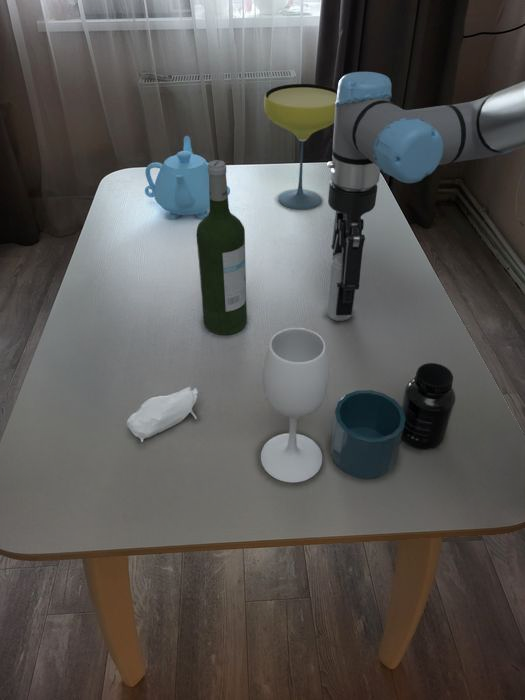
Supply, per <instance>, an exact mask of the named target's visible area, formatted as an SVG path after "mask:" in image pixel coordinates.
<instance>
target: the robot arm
mask: <svg viewBox="0 0 525 700" xmlns="http://www.w3.org/2000/svg"><path fill="white" fill-rule="evenodd" d="M337 90H338V92H337V100H336V103H335V120H334V123H333V135H332V136H333V137H332V151H331V152H332V153H331V155H332V156H331V159H332V161H328V162H327V168H328V169H330V177H329V178H330V182H329V184H328V185H329V186H328V198H327V200H328V201H327V203H328V205H329V207H330V208H331V210H333V211H335V213H334V214H335V215H334V222H333V223H334V224H333V233H332V241H331V250H333V252H332V257H333V256H334V255H335V254H337V253H342V265H341V282H340V283H337V287H339V288H338V298H337V307H336V315H352V316H353V313H352V308H353V309H354V305H353V300H354V301H355V297H354V292H355V293H356V291H357V290H359V288H360V277H361V268H362V260H363V250H364V245H365V241H366V236H365V234H362V233H363V230H364V223H365V222H364V219H363V218H362V216H363V215H365V214H366V213H369V212H371V211H372V210H373V209H374V208H375V206H376V201H377V194H378V183H379V181H380V175H381V171H382V172H383V173H384V174H386V175H388V176H389V177H393V178H394V179H396V180H397V181H399V182H401V183H405V184H414V183H419V182H421V181H423V179H424V178H426V177H427V176H430V175H432V173H433V172H434V171H435V170H436V169H437V167H438V166H441V165H446V164H447V165H448V164H452V163H458V162H466V161H472V160H473V161H474V160H478V159H490V158H496V157H499V156H502V155H505V154H508V153H510V152H513V151H514V150H518V149H522V148H525V80H524V81H521V82H519V83H517V84H514V85H511V86H509V87H506V88H504V89H500V90H498V91H497V92H494V93H491V94H489V95H486V96H484V97H482V98H479V99H476V100H472V101H467V102H461V103H454V104H446V105H437V106H430V107H423V108H416V109H403V108H401V107H400V106H399V105H396V104H394V103H393V102H392V101H391V99H392V97H393V96H392V82H391V79H390V77H388V76H387V75H385V74H382V73H379V72H374V71H356V72H349V73H347V74H344V75H343V76H342V77H341V78H340V80H339V81H338V84H337Z"/></svg>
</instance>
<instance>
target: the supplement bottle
mask: <svg viewBox="0 0 525 700" xmlns="http://www.w3.org/2000/svg"><path fill="white" fill-rule="evenodd" d="M453 382H454V375H453V373H452V371H451V370H450V369H449V368H448V367H447V366H445V365H442V364H440V363H435V362H426V363H424V364H421V365H420V366H418V368H417V369H416V374H415V376H414V377H413V378H412V379H411V380H409V381H408V382H407V384H406V386H405V389H404V392H403V397H402V400H401V401H402V402H401V405H400V406H401V407H402V408H403V411H404V414H405V418H406V420H405V425H404V429H403V433H402V437H401V441H403V442H404V443H405V444H406V445H408V446H410V447H411V448H414V449H418V450H431V449H435V448H437V447H438V446H439V445H441V443H443V441H444V439H445V436H446V433H447V430H448V426H449V423H450V420H451V418H452V417H451V416H452V413H453V411H454V410H453V409H454V406H455V403H456V393H455V390H454V388H453Z"/></svg>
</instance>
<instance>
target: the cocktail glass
mask: <svg viewBox="0 0 525 700" xmlns="http://www.w3.org/2000/svg"><path fill="white" fill-rule="evenodd" d="M337 92H338V88H337V89H336V88H333V87H331V86H327V85H322V84H315V83H291V84H284V85H283V84H282V85H278V86H276V87H275V86H274V87H272V88H270V89H269V90H267V91H266V93H265V94H264V99H263V109H264V114H265V115H266V117H267V118H268V119H269V120H270V121H271V122H272V123H273V124H274V125H277V126H278V127H280V128H282V129H285V130H287V131H289V132H291V133H292V134H294V136H295V137H296V139H297V140H298V141H300V154H299V155H300V158H299V173H298V174H299V175H298V186H297V189H290V190H286V191H283V192H281V193H280V194H279V195H278V197H277V200H278V202H279V203H280V205H282V206H283V207H285V208H287V209H291V210H310V209H313V208H316V207H317V206H319V205H320V204H321V202H322V197H321V196H320V194H318V193H317V192H315V191H312V190H310V189H309V190H308V189H303V166H304V164H303V163H304V144H305V142H306V141H307V140H308V139H309V138H310V136H311V135H313V134H314V133H316V132H318V131H321V130H325V129H326V128H328V127H330V126H332V125H334V120H335V103H336V100H337Z"/></svg>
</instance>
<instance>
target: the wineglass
mask: <svg viewBox="0 0 525 700" xmlns="http://www.w3.org/2000/svg"><path fill="white" fill-rule="evenodd" d="M265 352H266V353H265V356H264V361H263V367H262V388H263V393H264V397H265V399H266V401H267V402H268V405H270V407H271V408H272V409H273V410H275V411H276V412H277V413H278V414H280V415H281V416H284V417H287V418H289V432H288V433H281V434H278V435H276V436H273V437H272V438H270V439H269V440H268V441H267V442H265V444H264V445H263V447H262V449H261V452H260V462H261V465H262V467H263V469H264V470H265V471H266V473H267V474H268V475H269V476H271V477H272V478H274V479H276V480H278V481H280V482H283V483H291V484H293V483H295V484H296V483H301V482H305V481H308V480H310V479H311V478H313V477H314V476H315V475H316V474H317V473H318V472H319V471H320V470H321V467H322V464H323V453H322V450H321V448H320V447H319V445H318V444H317V443H316V442H315V441H314V440H313V439H312V438H309V437H308V436H306V435H303V434H299V433H297V428H298V419H299V418H304V417H307V416H309V415H311V414H313V413H314V412H316V411H317V410H318V409H319V408H320V407H321V406H322V405H323V403H324V401H325V399H326V397H327V393H328V389H329V382H330V362H329V361H330V360H329V354H328V349H327V345H326V342H325V339H324V338H323V337H322V336H321V335H320V334H319V333H318V332H315V331H314V330H311V329H308V328H304V327H289V328H285V329H282V330H280V331H278V332H276V333H275V334H274V335H273V336H272V337H271V338H270V340H269V343H268V346H267V350H266V351H265Z"/></svg>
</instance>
